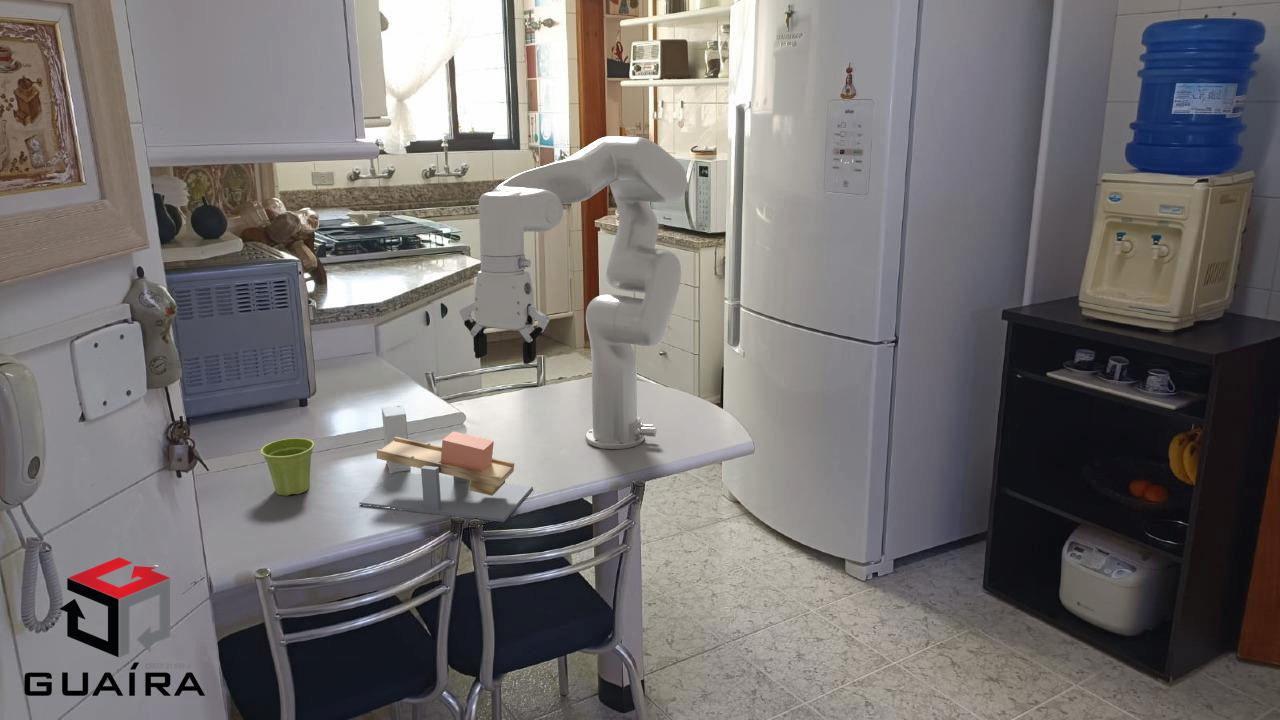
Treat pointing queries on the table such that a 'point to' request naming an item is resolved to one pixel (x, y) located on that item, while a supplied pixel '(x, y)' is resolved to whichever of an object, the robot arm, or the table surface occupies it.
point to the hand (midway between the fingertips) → (504, 359)
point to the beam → (431, 456)
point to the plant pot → (289, 464)
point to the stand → (446, 496)
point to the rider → (467, 451)
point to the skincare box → (395, 431)
